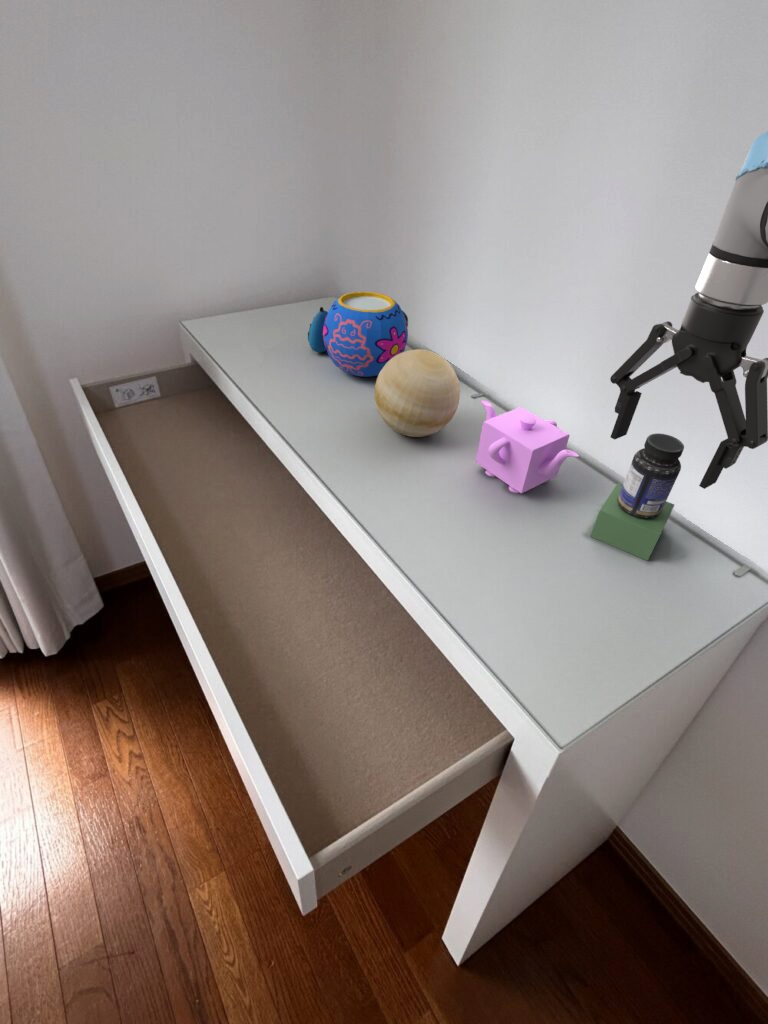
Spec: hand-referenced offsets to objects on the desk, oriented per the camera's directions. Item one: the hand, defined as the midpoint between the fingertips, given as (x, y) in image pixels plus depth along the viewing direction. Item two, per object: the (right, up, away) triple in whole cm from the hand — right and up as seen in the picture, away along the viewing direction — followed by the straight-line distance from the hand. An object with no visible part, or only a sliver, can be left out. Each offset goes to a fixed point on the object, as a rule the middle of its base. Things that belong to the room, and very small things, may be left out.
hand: (660, 459), depth 77 cm
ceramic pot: (-41, +23, +46) cm, 66 cm away
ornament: (-51, +29, +53) cm, 79 cm away
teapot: (-15, -1, +19) cm, 24 cm away
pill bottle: (-1, -7, +6) cm, 9 cm away
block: (-1, -10, +9) cm, 14 cm away
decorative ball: (-32, +8, +28) cm, 43 cm away
